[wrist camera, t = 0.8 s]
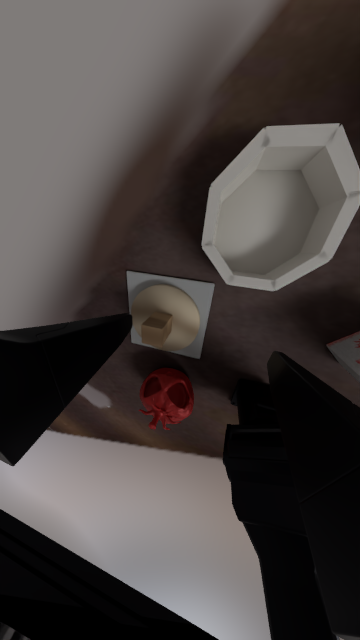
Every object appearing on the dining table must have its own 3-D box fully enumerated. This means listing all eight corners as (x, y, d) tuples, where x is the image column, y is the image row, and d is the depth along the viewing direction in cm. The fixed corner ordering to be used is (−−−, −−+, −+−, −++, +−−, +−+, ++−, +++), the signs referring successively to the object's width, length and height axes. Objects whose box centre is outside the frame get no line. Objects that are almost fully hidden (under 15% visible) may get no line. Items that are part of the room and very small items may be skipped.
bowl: (291, 286, 18) (311, 296, 14) (201, 273, 20) (196, 279, 16) (347, 160, 13) (404, 120, 9) (218, 160, 15) (217, 128, 11)
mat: (200, 357, 26) (199, 359, 25) (132, 341, 28) (131, 342, 28) (214, 283, 20) (214, 284, 19) (128, 270, 22) (126, 271, 22)
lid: (194, 353, 25) (188, 378, 20) (136, 339, 27) (117, 359, 22) (205, 290, 20) (201, 303, 15) (133, 278, 22) (107, 287, 17)
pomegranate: (191, 401, 32) (181, 455, 24) (148, 387, 33) (125, 433, 25) (201, 370, 27) (194, 423, 19) (150, 354, 28) (123, 398, 20)
